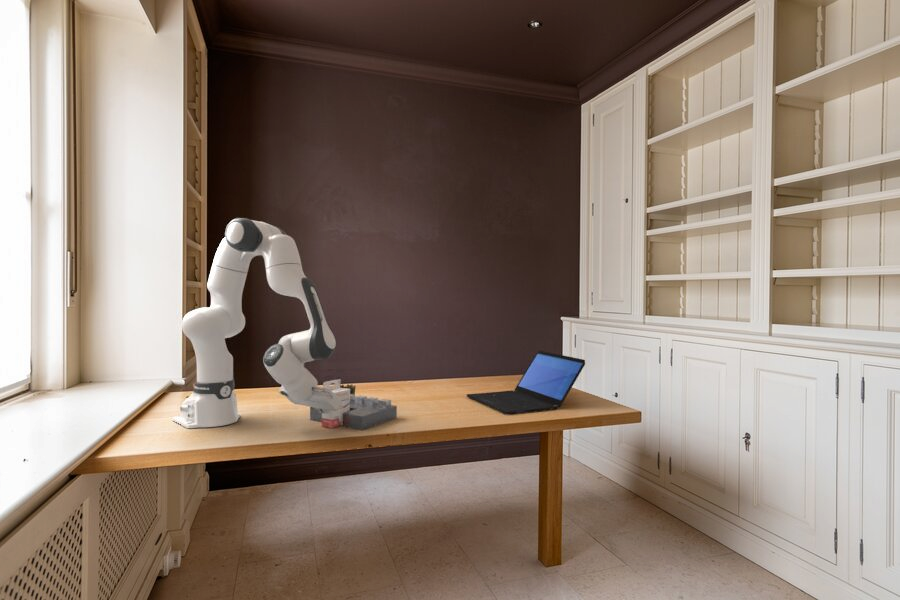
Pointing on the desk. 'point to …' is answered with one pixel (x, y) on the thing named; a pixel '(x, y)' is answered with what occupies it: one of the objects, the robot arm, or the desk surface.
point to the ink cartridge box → (336, 417)
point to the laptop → (537, 385)
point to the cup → (351, 387)
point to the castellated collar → (363, 412)
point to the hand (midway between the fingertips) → (325, 411)
